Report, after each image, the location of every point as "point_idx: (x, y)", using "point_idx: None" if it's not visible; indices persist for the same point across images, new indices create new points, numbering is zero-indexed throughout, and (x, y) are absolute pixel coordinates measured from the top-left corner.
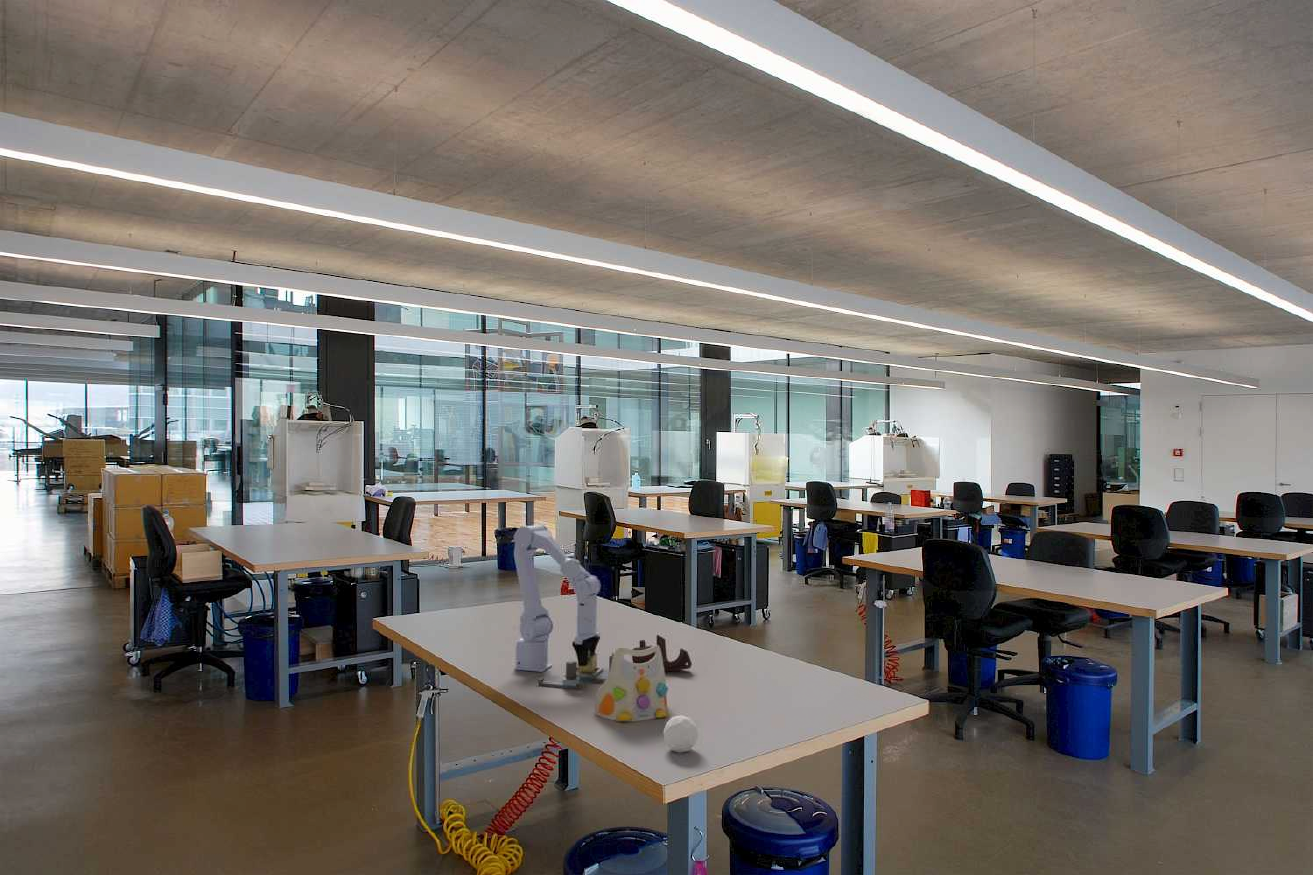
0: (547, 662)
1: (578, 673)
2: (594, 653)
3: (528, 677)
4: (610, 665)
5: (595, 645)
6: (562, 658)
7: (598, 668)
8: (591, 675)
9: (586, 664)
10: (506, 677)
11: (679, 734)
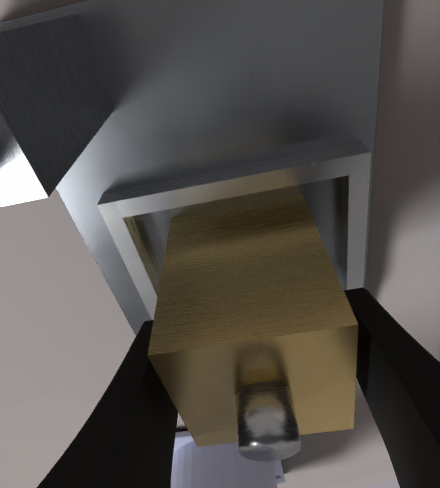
0: (195, 458)
1: (355, 281)
2: (172, 370)
3: (365, 420)
4: (85, 124)
5: (112, 484)
6: (26, 448)
7: (130, 233)
8: (367, 177)
9: (347, 296)
10: (388, 456)
11: None
